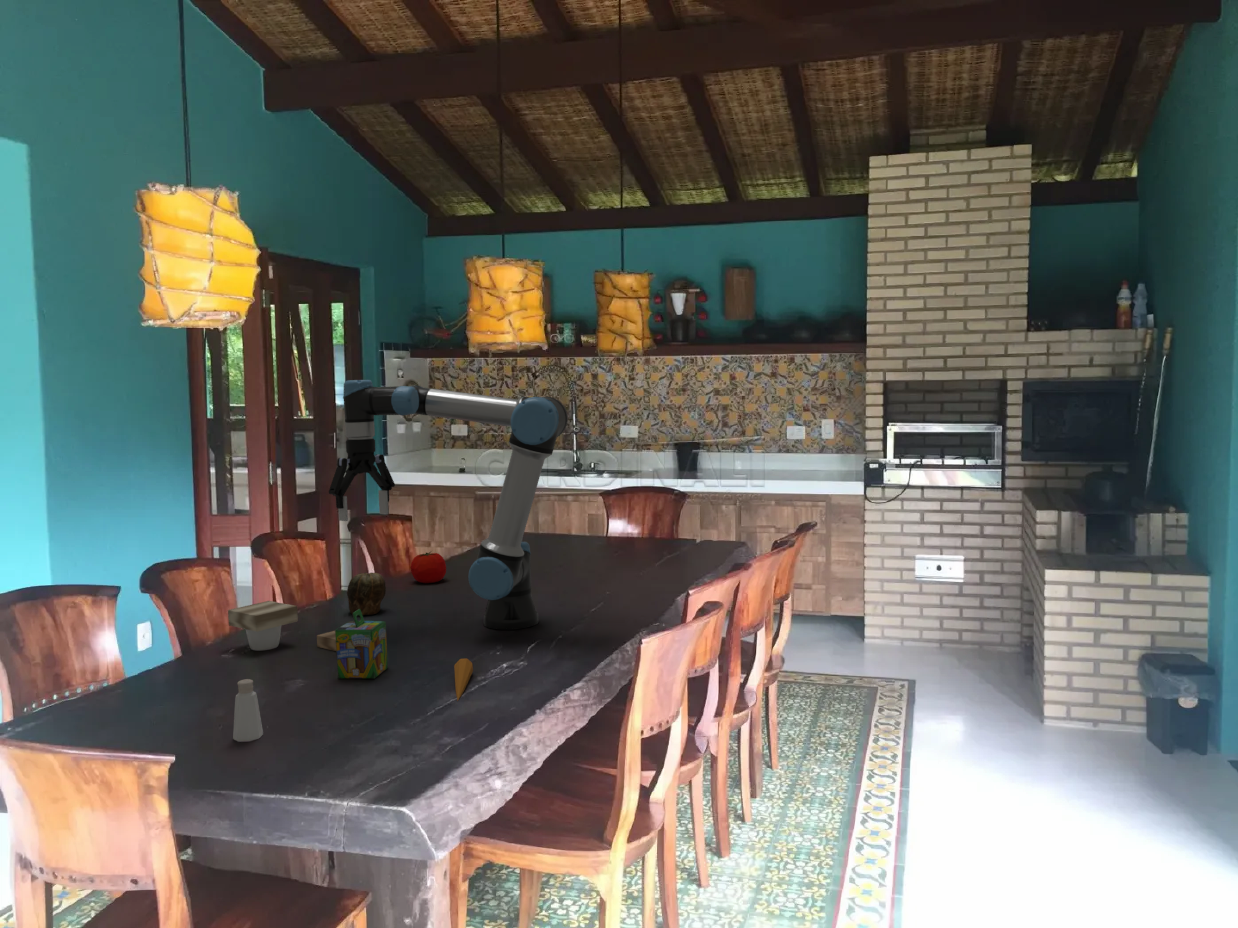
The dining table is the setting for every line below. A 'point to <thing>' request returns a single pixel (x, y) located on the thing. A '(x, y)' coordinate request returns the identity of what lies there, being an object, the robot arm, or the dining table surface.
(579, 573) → the dining table surface
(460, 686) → the carrot
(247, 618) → the cover board
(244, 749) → the dining table surface
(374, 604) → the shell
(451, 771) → the dining table surface
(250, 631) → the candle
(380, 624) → the chalk box
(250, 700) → the salt shaker
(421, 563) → the tomato
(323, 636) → the trivet
